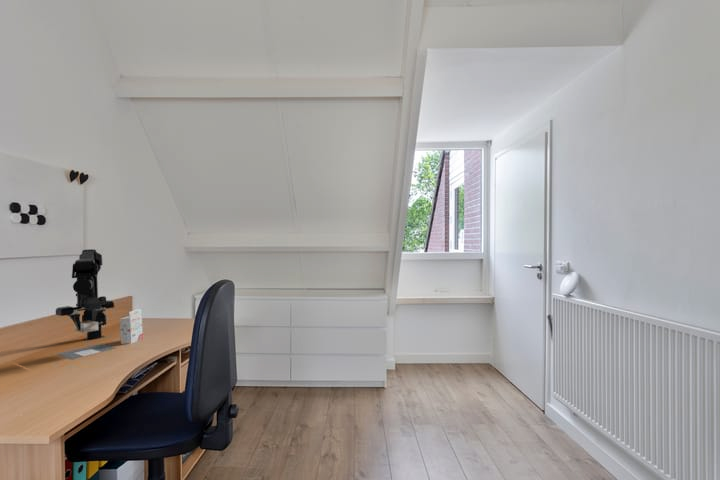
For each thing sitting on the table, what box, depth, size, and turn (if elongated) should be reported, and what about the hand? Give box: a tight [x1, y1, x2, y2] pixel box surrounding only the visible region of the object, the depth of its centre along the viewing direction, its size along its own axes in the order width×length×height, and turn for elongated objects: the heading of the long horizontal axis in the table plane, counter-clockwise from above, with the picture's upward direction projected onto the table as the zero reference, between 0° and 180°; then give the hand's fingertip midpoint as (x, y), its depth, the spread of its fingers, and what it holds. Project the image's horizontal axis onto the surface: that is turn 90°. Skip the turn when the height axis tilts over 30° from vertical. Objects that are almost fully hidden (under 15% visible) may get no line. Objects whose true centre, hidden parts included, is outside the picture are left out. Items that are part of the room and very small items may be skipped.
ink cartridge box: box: [119, 308, 144, 345], centre depth 164 cm, size 9×5×15 cm, turn 179°
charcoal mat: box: [56, 343, 117, 360], centre depth 151 cm, size 15×16×1 cm
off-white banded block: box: [74, 320, 99, 334], centre depth 148 cm, size 5×8×3 cm, turn 59°
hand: (86, 328), depth 148 cm, fingers closed on off-white banded block, 5 cm apart
